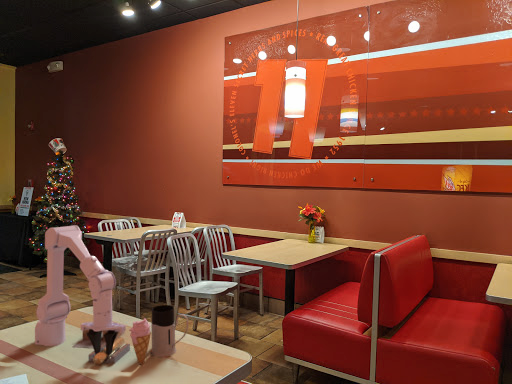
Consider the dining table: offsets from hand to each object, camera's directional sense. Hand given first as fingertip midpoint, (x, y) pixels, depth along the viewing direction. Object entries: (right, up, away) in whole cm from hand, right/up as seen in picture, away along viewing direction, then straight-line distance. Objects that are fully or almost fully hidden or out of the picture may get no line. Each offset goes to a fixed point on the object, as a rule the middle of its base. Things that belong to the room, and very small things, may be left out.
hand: (103, 352), depth 125 cm
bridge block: (-8, -3, +17) cm, 20 cm away
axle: (+1, -2, +4) cm, 4 cm away
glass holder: (+20, -4, +8) cm, 22 cm away
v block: (+1, -4, +4) cm, 5 cm away
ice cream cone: (+12, -4, -1) cm, 13 cm away
